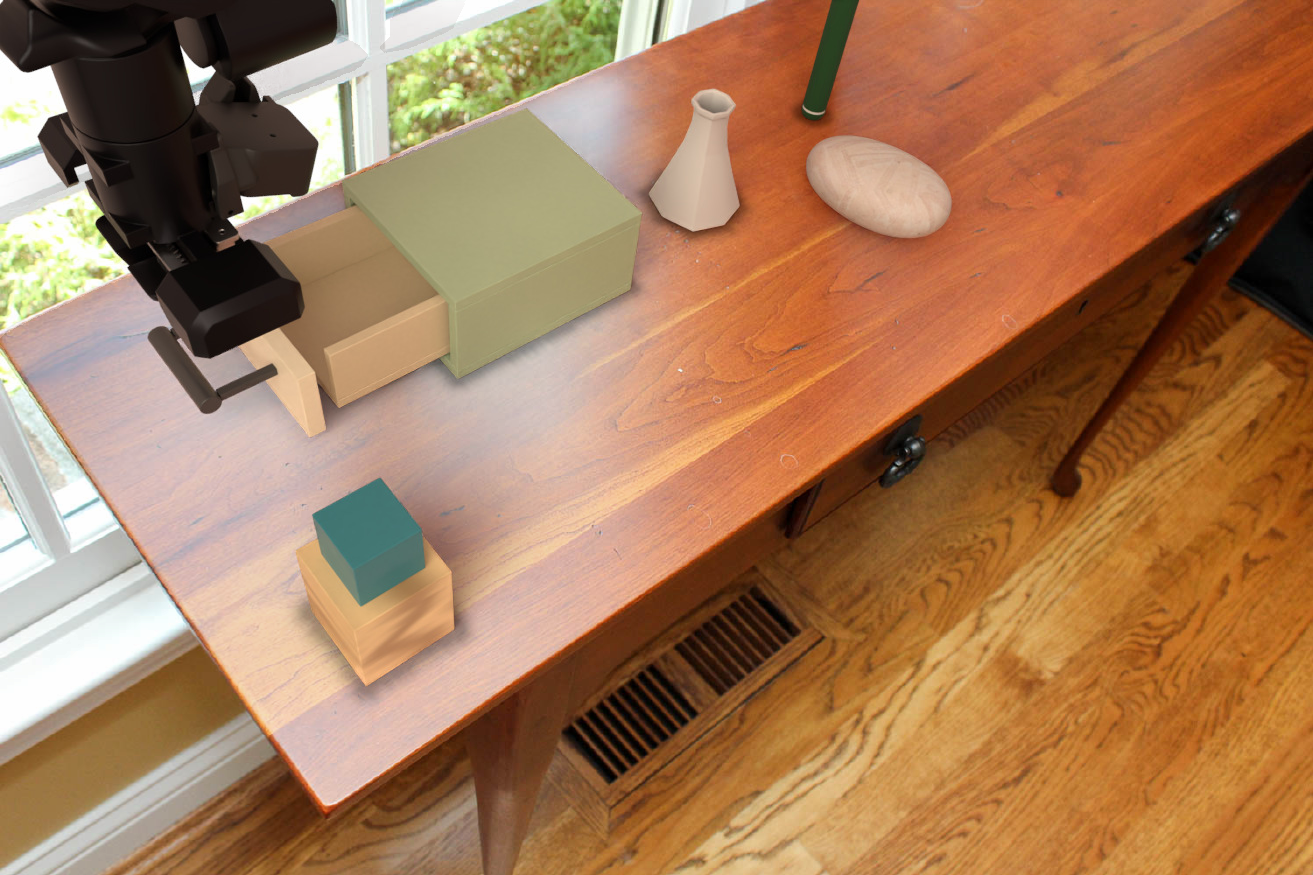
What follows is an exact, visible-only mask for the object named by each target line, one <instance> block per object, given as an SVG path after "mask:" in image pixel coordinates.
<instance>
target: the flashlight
mask: <svg viewBox="0 0 1313 875" xmlns="http://www.w3.org/2000/svg"><path fill="white" fill-rule="evenodd" d="M859 3H860V0H831V1H830V5H829V9H828V12H827V15H826V19H825V23H824V26H823V30H822V33H821V37H820V40H819V43H818V47H817V52H816V55H815V58H814V62H813V66H812V68H811V73H810V76H809V81H808V83H807V87H806V91H805V94H804V97H803V101H802V104H801V113H802V116H803V117H804V118H805V119H807V120H809V121H814V122H815V121H819V120H821V119H822V118H823V117H824V116H825V114H826V111H827V108H828V105H829V102H830V98H831V95H832V92H833V89H834V84H835V82H836V78H837V74H838V72H839V69H840V65H841V62H842V59H843V56H844V52H845V49H846V45H847V42H848V39H849V36H850V32H851V29H852V26H853V23H854V19H855V16H856V13H857V9H858V6H859Z"/></svg>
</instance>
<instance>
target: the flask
mask: <svg viewBox="0 0 1313 875" xmlns="http://www.w3.org/2000/svg"><path fill="white" fill-rule="evenodd" d="M690 102H691V103H690V104H691V106H692V107H693V113H692V118H691V122H690V123H689V127H688V129H687V131H686V134H685V136H684V139H683V141H682V142H681V143H680V145H679V147H678V148H677V150H676V151H675V153H674V155H673V157H671V159H670V161H669V162H668V164H667V166H666V167H665V169H664V170H663V171H662V173H661V175H659V177H658V179H657V180H656V181H655V183H654V185H653V186H652V188H651V189H650V191H649V192H648V196H649V198H650V199H651V201H652V202H653V204H654V206H655V207H656V209H657V211H658V213H659V214H660V215H661V217H662V218H664V219H666V220H668V221H670V222H672V223H674V224H676V225H678V226H680V227H682V228H684V229H686V230H688V231H691V232H698V231H702V230H707V229H711V228H717V227H721V226H725V225H726V223H727V222H728V221H729V220H730V219H731V218H732V216H733V215H734V214H735V213H736V211H737V210H738V209H739V208H740V200H739V195H738V191H737V187H736V186H737V185H736V182H735V178H734V174H733V169H732V168H733V167H732V163H731V158H730V153H729V152H730V151H729V147H728V125H729V120H730V116H731V114H732V113H733V112H734V111H735V109H736V107H737V104H736V103H735V102H734V100H733V98H732V97H731V96H730V95H729V94H728V93H726V92H723V91H721V90H720V89H717V88H708V89H702V90H699V91H697V93H696V94H695V95H694V96H693V97H691V101H690Z"/></svg>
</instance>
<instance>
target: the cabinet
mask: <svg viewBox="0 0 1313 875" xmlns="http://www.w3.org/2000/svg"><path fill="white" fill-rule="evenodd" d="M341 185H342V186H341V187H342V191H343V192H342V193H343V200H344V208H345V209H347V208H350V207H352V206H355V205H357V206H358V207H359V208H360V209H361V210H362V211H363V212H364V214H365V215H366V216H367V217H368V218H369V219H370V220H371V221H372V222H373V223H374V224H375V225H376V226H377V228H378V229H379V230H380V231H381V232H382V233H383V234H384V235H385V236H386V237H387V238H388V239H389V240H390V242H391V243H392V244H393V245H394V246H395V247H396V248H397V249H398V250H399V251H400V252H401V253H402V254H403V256H404V257H405V258H406V259H407V260H408V261H409V262H410V263H411V264H412V265H413V266H414V267H415V268H416V270H417V271H418V272H419V273H420V274H421V275H422V276H423V277H424V278H425V279H426V280H427V281H428V282H429V284H430V285H431V286H432V287H433V288H434V289H435V290H436V291H437V292H438V293H439V294H440V295H441V296H442V298H443V299H444V300H445V301H446V302H447V303H448V311H449V336H450V353H448V354H446V355H444V356H442V357H440V358H438V359H439V360H440V362H442V363H443V365H444V366H445V367H446V368H447V369H448V370H449V372H451V374H452V375H453V376H454V377H455V378H456V379H457V380H459V379H461V378H463V377H465V376H467V375H469V374H470V373H472V372H475V371H476V370H478V369H480V368H482V367H485V366H486V365H488V364H490V363H492V362H494V361H496V360H498V359H500V358H501V357H503V356H506V355H508V354H509V353H511V352H513V351H515V350H517V349H519V348H521V347H522V346H525V345H526V344H529V343H530V342H532V341H534V340H536V339H538V338H541V337H542V336H544V335H546V334H547V333H550V332H552V331H554V330H555V329H557V328H559V327H561V326H564V325H565V324H567V323H569V322H571V321H573V320H575V319H577V318H579V317H580V316H583V315H585V314H587V313H589V312H590V311H592V310H594V309H596V308H598V307H600V306H601V305H603V304H605V303H607V302H609V301H612V300H614V299H615V298H617V297H619V296H621V295H623V294H625V293H626V292H628V291H631V289H632V282H633V277H634V268H635V263H636V255H637V250H638V242H639V236H640V230H641V222H642V220H643V219H642V218H643V212H642V211H641V210H640V209H639V208H638V207H637V206H636V205H634V204H633V203H632V201H630V200H629V199H628V198H627V197H626V196H624V194H623V193H622V192H620V191H619V190H618V189H617V188H616V187H615V186H614V185H613V184H612V183H611V182H609V181H608V179H606V178H605V177H604V176H603V175H602V174H600V173H599V172H598V171H597V170H596V169H595V168H594V167H593V166H592V165H591V164H589V163H588V162H587V161H586V160H585V159H584V158H582V157H581V156H580V155H579V154H578V153H577V152H576V151H575V150H574V149H573V148H572V147H570V146H569V145H568V144H567V143H566V141H564V140H563V139H562V138H561V137H559V136H558V134H556V133H555V132H554V131H553V130H552V129H551V128H549V127H548V125H546V124H545V122H543V121H542V120H541V119H540V118H538V117H537V116H536V115H535V114H534V113H533V112H532V111H531V110H530V109H529V108H527V107H526V108H522V109H521V110H518V111H516V112H513V113H510V114H508V115H506V116H503V117H501V118H497V119H495V120H493V121H490V122H488V123H487V122H486V123H484V124H483V125H480V126H477V127H475V128H473V129H469V130H467V131H465V132H462V133H460V134H456V135H455V136H452V137H450V138H448V139H444V140H442V141H439V142H437V143H434V144H432V145H429V146H426V147H424V148H422V149H419V150H416V151H414V152H411V153H408V154H406V155H404V156H401V157H398V158H395V159H394V160H391V161H388V162H386V163H383V164H381V165H378V166H376V167H373V168H371V169H368V170H365V171H363V172H360V173H358V174H355V175H353V176H351V177H348V178H345V179H343V180H341Z"/></svg>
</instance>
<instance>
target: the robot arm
mask: <svg viewBox="0 0 1313 875" xmlns="http://www.w3.org/2000/svg"><path fill="white" fill-rule="evenodd" d="M337 33H338V14H337V7H336V4H335V2H334V1H333V0H1V2H0V52H1V53H3V55H4V56H5V57H6V58H7V59H8V60H9V61H10V62H11V63H12V64H13V65H14V66H15V67H16V68H17V69H18V70H19V71H20V72H22V73H26V74H30V73H33V72H36V71H39V70H41V69H44V68H45V69H46V68H47V67H50V69H51V71H52V74H53V76H54V79H55V82H56V85H57V87H58V90H59V93H60V95H61V99H62V101H63V103H64V106H65V109H66V111H65V112H62V113H58V114H55V115H52V116H49V117H48V118H47V119H46V121H45V123H44V124H43V126H42V127H41V130H40V131H39V132H38V134H37V139H38V142H39V144H40V147H41V149H42V151H43V154H44V156H45V159H46V160H47V161H46V162H47V163H48V165H49V166H50V167H51V169H52V170H53V171H54V173H55V174H56V175H57V177H58V178H59V179H60V181H61V182H62V184H64V186H65V187H66V188H67V189H68V188H71V187H74V186H77V185H78V184H79V183H80V179H79V177H78V174H77V172H76V168H79V167H82V166H85V165H87V168H88V170H89V174H90V176H91V178H89V179H87V180H84V184H85V188H86V190H87V192H88V195H89V197H90V198H91V199H92V201H93V202H94V204H95V205H96V206H97V208H98V209H99V210H100V211H101V213H102V214H103V215H101V216H99V217H97V219H96V220H95V227H96V229H97V230H98V232H99V234H101V236H102V237H103V239H104V240H105V242H106V243H107V244H108V245H109V246H110V248H111V249H112V251H113V252H114V253H115V254H116V255H117V256H118V257H119V258H120V259H121V260H122V261H123V262H124V263H125V264H126V265H128V266H127V267H126V268H127V270H128V272H129V273H130V274H131V275H132V277H133V278H134V279H135V281H136V282H137V283H138V285H139V286H140V287H141V289H142V290H143V291H144V293H145V294H146V296H148V297H149V299H151V300H152V301H153V302H154V301H155V302H159V303H158V304H159V306H160V308H161V310H162V311H163V313H164V315H165V317H166V320H167V321H168V323H169V324H170V327H171V328H173V329H174V330H175V331H176V333H177V334H178V335H179V337H180V340H181V341H182V342H183V343H184V345H185V346H186V348H187V349H188V350H189V352H190V353H191V354H192V355H193V356H194V357H195V358H201V359H207V360H208V359H209V360H211V359H213V358H215V357H217V356H220V355H222V354H224V353H226V352H228V351H230V350H233V349H235V348H237V347H238V346H240V345H242V344H244V343H246V342H249V341H251V340H253V339H255V338H257V337H260V336H262V335H264V334H266V333H269V332H271V331H273V330H275V329H277V328H280V327H282V326H284V325H286V324H288V323H291V322H293V321H295V320H297V319H299V318H301V316H302V314H303V311H304V309H305V304H304V299H303V294H302V289H301V284H300V282H299V281H298V280H297V278H296V277H295V276H294V275H293V274H292V273H291V271H290V270H289V269H288V268H287V267H286V266H285V264H284V263H283V262H282V261H281V260H280V259H279V257H278V256H277V255H276V254H275V253H274V251H273V250H272V249H271V248H270V247H269V246H268V245H266V244H263V243H264V242H261V241H256V240H254V239H251V238H248V239H246V240H244V239H243V238H242V236H241V235H240V233H239V231H238V229H237V228H236V227H235V226H234V225H233V224H232V222H231V221H230V220H229V218H230V219H231V218H233V217H235V216H238V215H240V214H243V213H244V212H245V209H244V204H243V201H242V197H243V198H260V197H261V198H262V197H274V196H276V197H277V196H288V195H289V196H291V197H292V198H298V197H303V196H306V195H307V194H308V193H309V192H310V191H309V190H310V186H311V182H312V175H313V172H314V168H315V164H316V158H317V154H318V149H319V144H320V143H319V141H318V139H317V138H316V137H315V135H314V134H313V133H312V132H311V131H310V130H309V129H308V128H307V127H306V126H305V125H304V124H303V122H301V120H299V119H298V118H297V116H296V115H295V114H293V112H292V111H291V110H290V109H288V108H287V107H286V106H283V105H282V104H279V103H277V102H276V101H275V100H274V99H273V98H272V97H271V95H262V98H261V97H260V95H259V91H258V88H257V86H256V85H255V83H253V81H252V80H251V79H250V78H249V77H248V76H251V75H253V74H257V73H258V72H261V71H264V70H267V69H269V68H271V67H274V66H277V65H279V64H282V63H284V62H287V61H290V60H292V59H294V58H297V57H300V56H302V55H306V54H307V53H308V54H309V53H310V52H312V51H315V50H318V49H321V48H323V47H326V46H328V45H330V44H333V43H334V40H336V38H337ZM183 52H184V53H185V55H186V56H187V57H188V59H189V60H190V61H191V62H192V63H193V64H194V65H196V67H198V68H200V69H203V70H204V69H207V68H210V67H212V68H213V70H214V72H213V74H212V75H211V77H210V79H209V80H208V81H207V83H206V84H205V86H204V87H203V89H202V90H201V92H200V94H199V98H198V99H199V100H198V104H196V100H195V96H194V94H193V89H192V85H191V82H190V78H189V77H190V76H189V73H188V70H187V66H186V62H185V58H184V55H183ZM238 348H239V347H238Z"/></svg>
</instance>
